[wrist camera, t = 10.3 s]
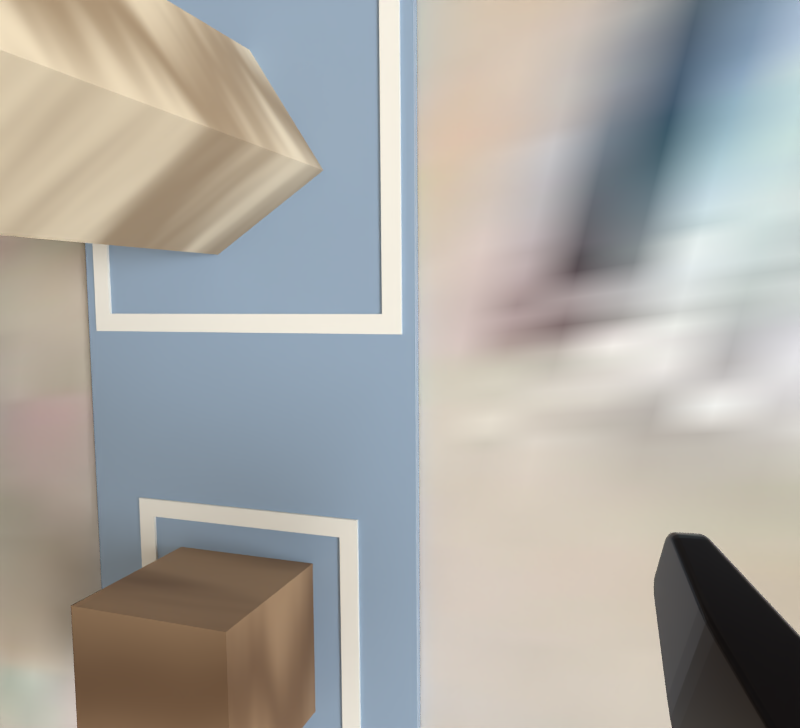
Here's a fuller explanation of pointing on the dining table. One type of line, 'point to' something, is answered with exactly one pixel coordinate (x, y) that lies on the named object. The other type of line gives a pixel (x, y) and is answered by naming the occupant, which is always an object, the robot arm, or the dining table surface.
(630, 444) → the dining table surface
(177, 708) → the walnut cube
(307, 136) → the blueprint mat
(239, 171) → the beech block
